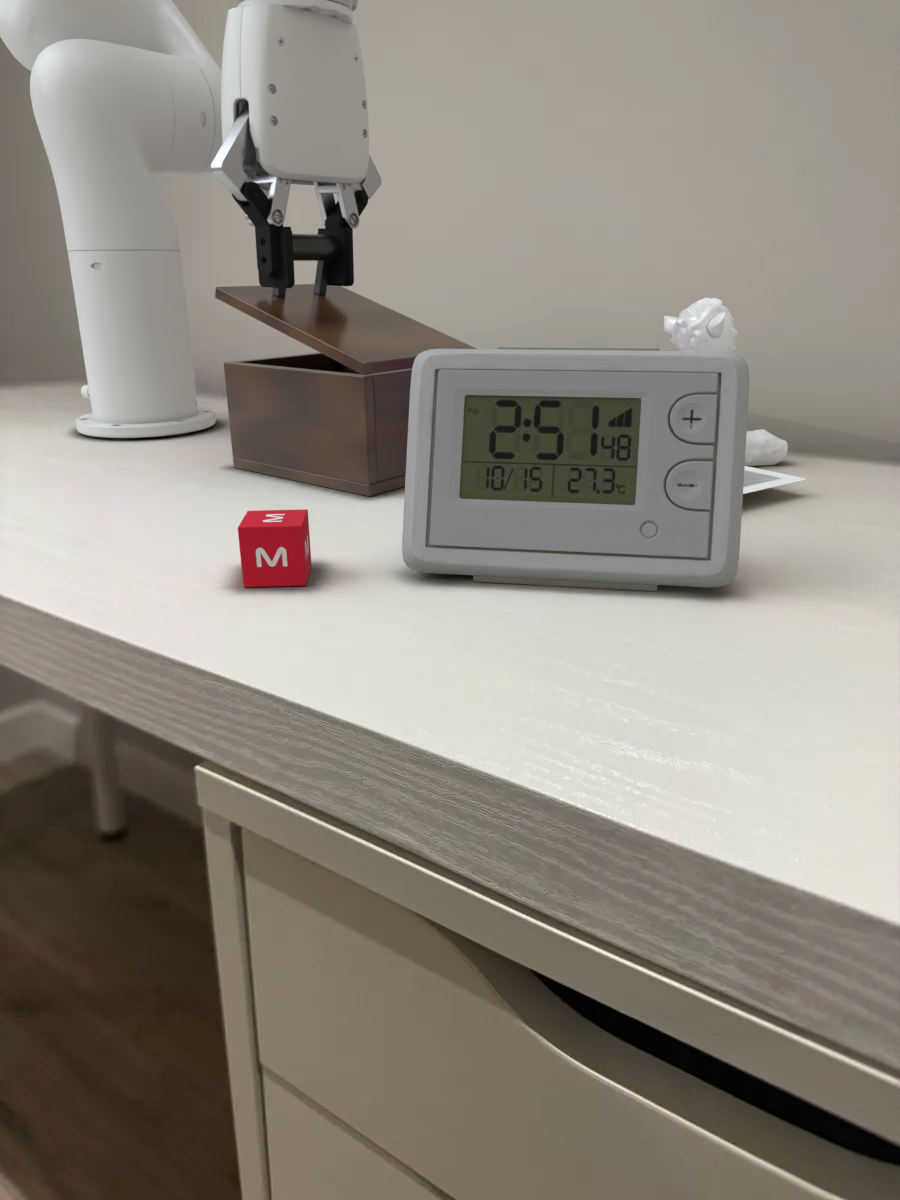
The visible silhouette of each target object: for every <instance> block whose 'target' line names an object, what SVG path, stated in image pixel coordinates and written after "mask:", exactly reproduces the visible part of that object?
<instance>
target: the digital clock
mask: <svg viewBox="0 0 900 1200" xmlns="http://www.w3.org/2000/svg"><path fill="white" fill-rule="evenodd" d="M749 369H750V368H749V364H748V362H747V360H746V359H745V357H744V356H741V355H740V354H738V353H735V352H732V353H731V352H722V351H679V350H660V348H603V347H601V348H599V347H598V348H595V347H594V348H593V347H590V348H589V347H587V348H586V347H581V348H580V347H497V348H476V349H431V350H427V351H423V352H422V353H420V354H418V356H417V357H416V358H415V360H414V363H413V368H412V374H411V386H410V402H409V421H408V440H407V459H406V477H405V487H404V497H403V515H402V533H401V534H402V536H401V540H402V541H401V552H402V559H403V562H404V564H405V565H406V566H407V567H408V568H409V569H411V570H413V571H416V572H418V573H424V574H425V573H426V574H440V575H460V576H472V582H477V583H494V584H495V583H497V584H515V585H533V586H534V585H535V586H553V587H554V586H555V587H556V586H557V587H571V588H572V587H573V588H588V589H589V588H591V589H607V590H608V589H611V590H627V591H628V590H630V591H644V592H645V591H647V592H648V591H649V592H657V591H658V586H669V587H672V586H673V587H689V588H690V587H691V588H719V587H725V586H726V585H728V584H730V583H732V582H733V580H734V579H735V577H736V575H737V572H738V568H739V561H740V552H741V551H740V550H741V549H740V548H741V533H742V532H741V531H742V517H743V499H744V494H743V484H744V467H745V451H746V434H747V431H748V417H749V416H748V415H749V399H750V370H749Z"/></svg>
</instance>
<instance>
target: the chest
mask: <svg viewBox="0 0 900 1200" xmlns="http://www.w3.org/2000/svg"><path fill="white" fill-rule="evenodd" d="M223 371H224V380H225V381H224V382H225V392H226V402H227V412H228V413H227V414H228V422H229V423H228V424H229V433H230V445H231V453H232V463H233V464H232V465H233V468H236V469H240V470H245V471H250V472H254V473H260V474H264V475H267V476H268V475H269V476H273V477H276V478H277V477H278V478H281V479H282V478H283V479H286V480H291V481H297V482H301V483H306V484H310V485H314V486H315V485H316V486H320V487H324V488H328V489H334V490H339V491H342V492H348V493H352V494H358V495H360V496H361V495H362V496H367V497H372V496H375V495H380V494H383V493H386V492H391V491H394V490H397V489H401V488H405V477H406V459H407V440H408V421H409V402H410V386H411V374H412V368H410V369H403V370H396V371H388V372H381V373H374V374H367V375H362V374H360V373H359V372H357V371H355V370H353V369H351V368H349V367H347V366H345V365H343V364H341V363H339V362H337V361H335V360H334V359H332V358H330V357H328V356H326V355H324V354H322V353H320V352H318V351H317V352H310V353H309V352H308V353H300V354H292V355H291V354H290V355H281V356H273V357H272V356H271V357H261V358H253V359H245V360H243V359H242V360H234V361H224V362H223Z"/></svg>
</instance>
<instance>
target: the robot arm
mask: <svg viewBox="0 0 900 1200" xmlns="http://www.w3.org/2000/svg"><path fill="white" fill-rule="evenodd" d="M358 2H359V1H358V0H237V6H236V7H232V8H230V9H228V10H227V14H226V22H225V29H224V36H223V44H222V56H221V57H222V58H221V59H222V60H221V61H222V62H221V68H220V67H219V65H218V63H217V62H216V61H215V59H214V58H213V57H212V55H211V53H210V52H209V51H208V49H207V48H206V47H205V45H204V43H203V42H202V41H201V39H200V38H199V35H197V33H196V32H195V31H194V29H193V28H192V26H191V25H190V23H189V22H188V20H186V19H187V18H186V17H185V16H184V15H183V13H182V12H181V10H180V9H179V8H178V6H177V5H176V4H175V2H174V1H173V0H0V39H1V40H2V42H3V43H4V45H5V47H6V48H7V50H8V51H9V52H10V54H12V56H13V57H14V58H15V59H16V61H18V62H19V63H20V64H21V65H22V66H23V67H24V68H26V69H27V70H28V71H29V72H31V73H30V78H29V94H30V101H31V108H32V112H33V115H34V119H35V122H36V125H37V128H38V131H39V134H40V138H41V141H42V144H43V147H44V151H45V153H46V157H47V160H48V162H49V166H50V170H51V173H52V177H53V180H54V185H55V188H56V193H57V199H58V203H59V208H60V214H61V219H62V226H63V231H64V238H65V239H64V240H65V246H66V251H67V255H68V263H69V268H70V269H69V270H70V275H71V282H72V288H73V289H72V290H73V296H74V303H75V310H76V315H77V321H78V328H79V335H80V342H81V347H82V354H83V361H84V362H83V363H84V368H85V375H86V380H87V382H86V383H87V384H84V385H82V387H81V388H80V394H81V396H82V397H83V399H88V400H89V402H90V407H91V412H89V413H85V414H82V415H80V416H78V417H77V418H76V419H75V426H76V431H77V432H78V433H79V434H80V435H81V434H82V435H84V436H89V437H94V438H95V437H97V438H106V439H137V438H140V439H141V438H154V437H155V438H156V437H166V436H174V435H175V436H176V435H182V434H188V433H193V432H198V431H203V430H206V429H208V428H211V427H212V426H215V424H216V423H217V419H216V412H215V411H214V410H213V409H211V408H207V407H203V406H198V397H197V387H196V379H195V369H194V362H193V351H192V343H191V334H190V324H189V315H188V314H189V313H188V305H187V297H186V287H185V277H184V268H183V261H182V252H181V243H180V236H179V229H178V227H177V226H178V225H177V222H176V219H175V217H174V213H173V212H172V209H171V207H170V205H169V204H168V201H167V199H166V197H164V195H163V192H162V191H161V190H160V187H158V185H157V183H156V182H155V180H154V178H153V177H152V175H165V176H178V177H179V176H181V177H209V176H212V175H213V176H214V177H215V179H216V180H218V181H219V182H220V183H221V185H222V186H224V188H225V189H226V190H227V192H230V193H231V196H232V198H233V200H234V201H235V202H236V204H237V205H238V207H239V208H240V209H241V210H242V211H243V212H244V214H245V220H246V223H247V224H248V225H249V226H251V227H254V235H255V236H254V237H255V250H256V251H255V252H256V267H257V273H258V274H257V275H258V283H259V286H262V287H271V288H292V287H293V286H294V285H296V281H295V263H294V262H295V261H294V257H293V237H292V234H293V231H292V227H291V226H284V223H285V221H286V214H287V208H288V201H289V197H290V191H291V185H300V186H314V190H315V195H316V198H317V201H318V202H317V203H318V206H319V211H320V216H321V219H322V223H323V225H324V228H323V227H322V228H321V227H319V228H317V232H316V233H317V234H320V235H333V236H334V237H335V238H336V239H337V242H338V245H339V252H338V255H337V257H336V258H335V259H334V260H332V261H330V268H329V275H328V282H327V285H332V286H342V287H352V286H354V283H355V271H354V270H355V267H354V266H355V263H354V230H355V229H357V228H358V227H359V226H360V221H361V220H360V216H361V215H362V213H363V212H364V210H365V209H366V207H367V206H368V203H369V200H371V198H372V196H374V195H375V193H376V192H377V191H378V189H379V188H380V187H381V185H382V177H381V175H380V173H379V171H378V169H377V167H376V165H375V163H374V161H373V159H372V157H371V156H370V130H369V127H370V126H369V110H368V96H367V87H366V86H367V85H366V78H365V70H364V62H363V55H362V48H361V44H360V37H359V32H358V27H357V25H355V24H354V23H353V21H354V20H353V13H354V12H355V10H356V9H357V8H358V7H357V6H358ZM334 194H336V195H337V199H338V200H337V201H336V200H335V196H334Z"/></svg>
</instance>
